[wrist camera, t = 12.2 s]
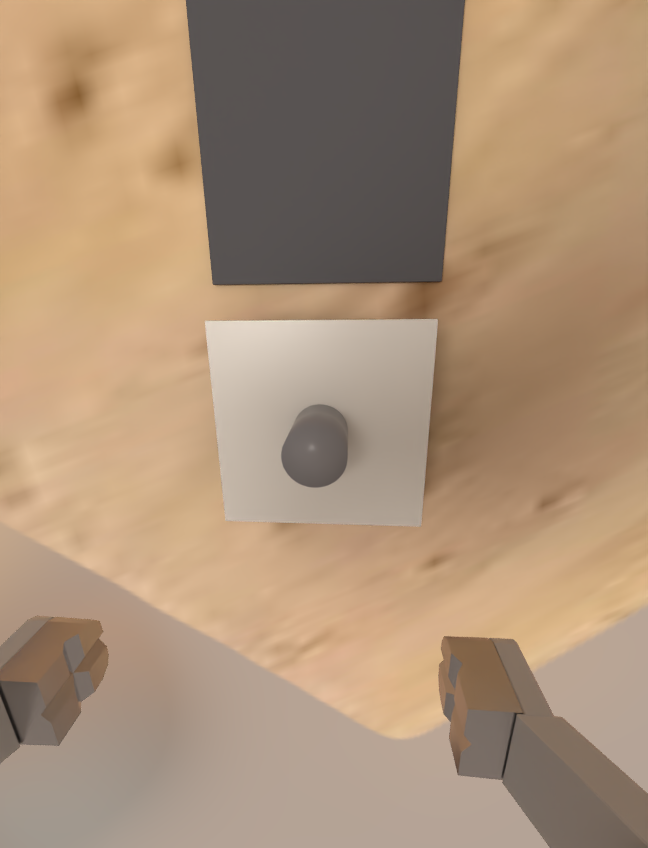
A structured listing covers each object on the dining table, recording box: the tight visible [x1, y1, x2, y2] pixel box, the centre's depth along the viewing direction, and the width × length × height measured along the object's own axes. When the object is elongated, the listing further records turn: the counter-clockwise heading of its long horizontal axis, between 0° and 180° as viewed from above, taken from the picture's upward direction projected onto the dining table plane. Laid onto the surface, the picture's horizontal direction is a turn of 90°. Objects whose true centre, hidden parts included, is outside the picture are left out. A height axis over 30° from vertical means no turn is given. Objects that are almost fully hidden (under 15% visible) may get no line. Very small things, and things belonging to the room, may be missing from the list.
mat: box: [186, 0, 465, 285], centre depth 25 cm, size 17×17×1 cm
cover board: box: [205, 319, 438, 527], centre depth 22 cm, size 14×14×5 cm
